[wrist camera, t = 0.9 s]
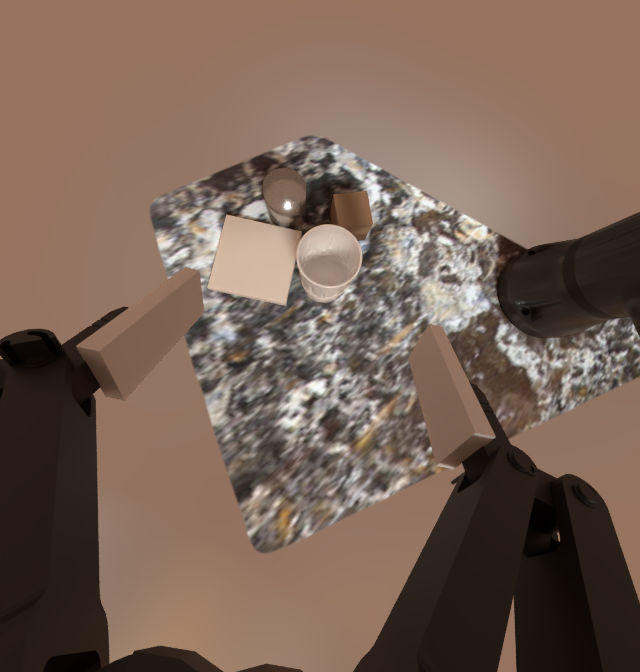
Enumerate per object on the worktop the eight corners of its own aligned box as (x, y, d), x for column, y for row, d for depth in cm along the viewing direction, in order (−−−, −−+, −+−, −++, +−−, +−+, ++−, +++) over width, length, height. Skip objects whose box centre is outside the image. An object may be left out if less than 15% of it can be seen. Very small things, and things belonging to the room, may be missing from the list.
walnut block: (359, 211, 40) (367, 190, 35) (364, 240, 40) (372, 223, 35) (330, 214, 40) (333, 194, 35) (334, 243, 39) (338, 226, 34)
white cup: (289, 288, 38) (283, 263, 28) (316, 249, 39) (319, 211, 29) (330, 316, 38) (339, 300, 28) (357, 276, 39) (374, 247, 29)
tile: (301, 234, 39) (301, 231, 38) (286, 305, 38) (285, 304, 37) (228, 218, 39) (226, 214, 38) (210, 289, 37) (207, 287, 36)
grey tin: (309, 201, 40) (310, 173, 34) (301, 234, 39) (301, 212, 33) (273, 192, 40) (267, 163, 34) (265, 226, 39) (258, 202, 33)
